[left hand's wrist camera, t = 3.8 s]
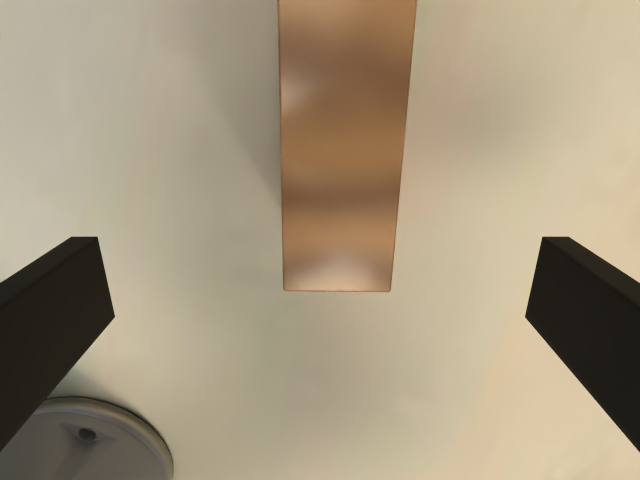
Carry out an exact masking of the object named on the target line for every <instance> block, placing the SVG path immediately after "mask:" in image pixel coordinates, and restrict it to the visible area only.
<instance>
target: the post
mask: <svg viewBox="0 0 640 480" xmlns="http://www.w3.org/2000/svg"><path fill="white" fill-rule="evenodd" d="M416 6H417V0H278V40H279V92H280V144H281V196H282V248H283V289H284V291H343V292H390V291H391V281H392V270H393V259H394V248H395V237H396V226H397V215H398V204H399V193H400V182H401V171H402V160H403V149H404V138H405V127H406V116H407V105H408V94H409V83H410V72H411V61H412V50H413V39H414V28H415V17H416Z"/></svg>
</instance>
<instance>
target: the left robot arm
mask: <svg viewBox="0 0 640 480" xmlns="http://www.w3.org/2000/svg"><path fill="white" fill-rule="evenodd" d="M114 317H115V315H114V310H113V306H112V301H111V296H110V292H109V287H108V283H107V278H106V274H105V269H104V264H103V260H102V255H101V251H100V246H99V241H98V237H70V238H69V239H67V240H66V241H64V242H63V243H61V244H60V245H58V246H57V247H55V248H53V249H52V250H50V251H49V252H47V253H46V254H44V255H43V256H41V257H40V258H38V259H37V260H35V261H33V262H32V263H30V264H29V265H27V266H26V267H24V268H23V269H21V270H20V271H18V272H17V273H15V274H13V275H12V276H10V277H9V278H7V279H6V280H4V281H3V282H1V283H0V480H172V478H173V463H172V459H171V456H170V453H169V451H168V449H167V447H166V445H165V443H164V442H163V441H162V439H161V438H160V437H159V435H158V434H157V433H156V432H155V431H154V430H153V429H152V428H151V427H150V426H149V425H147V424H146V423H145V422H144V421H142V420H141V419H139V418H138V417H136V416H135V415H133V414H131V413H130V412H128V411H126V410H124V409H121V408H119V407H117V406H114V405H111V404H108V403H105V402H101V401H97V400H92V399H87V398H75V397H64V398H54V399H48V400H45V399H46V398H47V396H48V395H49V394H50V393H51V392H52V391H53V389H54V388H55V387H56V386H57V385H58V384H59V382H60V381H61V380H62V379H63V378H64V376H65V375H66V374H67V373H68V372H69V371H70V369H71V368H72V367H73V366H74V365H75V363H76V362H77V361H78V360H79V359H80V358H81V356H82V355H83V354H84V353H85V352H86V350H87V349H88V348H89V347H90V346H91V345H92V343H93V342H94V341H95V340H96V339H97V338H98V336H99V335H100V334H101V333H102V332H103V330H104V329H105V328H106V327H107V326H108V325H109V323H110V322H111V321H112V320H113V319H114ZM525 317H526V319H527V320H528V321H529V322H530V323H531V325H532V326H533V327H534V328H535V329H536V330H537V332H538V333H539V334H540V335H541V336H542V338H543V339H544V340H545V341H546V342H547V343H548V345H549V346H550V347H551V348H552V349H553V350H554V352H555V353H556V354H557V355H558V356H559V358H560V359H561V360H562V361H563V362H564V363H565V365H566V366H567V367H568V368H569V369H570V371H571V372H572V373H573V374H574V375H575V376H576V378H577V379H578V380H579V381H580V382H581V384H582V385H583V386H584V387H585V388H586V389H587V391H588V392H589V393H590V394H591V395H592V396H593V398H594V399H595V400H596V401H597V402H598V404H599V405H600V406H601V407H602V408H603V409H604V411H605V412H606V413H607V414H608V415H609V417H610V418H611V419H612V420H613V421H614V422H615V424H616V425H617V426H618V427H619V428H620V429H621V431H622V432H623V433H624V434H625V435H626V437H627V438H628V439H629V440H630V441H631V442H632V444H633V445H634V446H635V447H636V448H637V450H638V451H639V452H640V283H639V282H637V281H636V280H634V279H633V278H631V277H630V276H628V275H627V274H625V273H623V272H622V271H620V270H619V269H617V268H616V267H614V266H613V265H611V264H610V263H608V262H607V261H605V260H603V259H602V258H600V257H599V256H597V255H596V254H594V253H593V252H591V251H590V250H588V249H587V248H585V247H583V246H582V245H580V244H579V243H577V242H576V241H574V240H573V239H571V238H570V237H542V241H541V246H540V251H539V255H538V260H537V264H536V269H535V274H534V278H533V283H532V287H531V292H530V296H529V301H528V306H527V310H526V315H525Z"/></svg>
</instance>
